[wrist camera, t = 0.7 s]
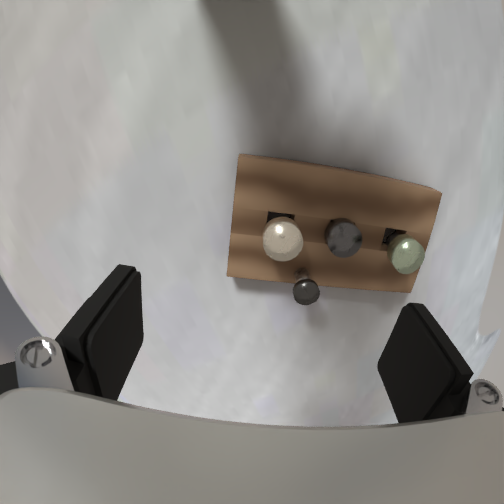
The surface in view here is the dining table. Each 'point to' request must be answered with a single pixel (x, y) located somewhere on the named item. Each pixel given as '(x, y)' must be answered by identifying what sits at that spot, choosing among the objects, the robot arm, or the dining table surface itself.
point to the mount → (326, 221)
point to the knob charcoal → (343, 237)
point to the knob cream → (282, 239)
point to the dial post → (305, 287)
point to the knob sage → (404, 253)
